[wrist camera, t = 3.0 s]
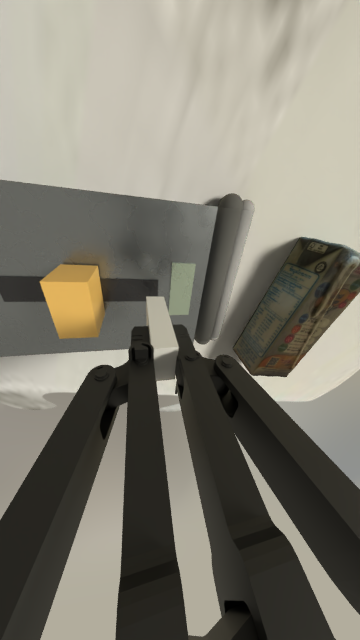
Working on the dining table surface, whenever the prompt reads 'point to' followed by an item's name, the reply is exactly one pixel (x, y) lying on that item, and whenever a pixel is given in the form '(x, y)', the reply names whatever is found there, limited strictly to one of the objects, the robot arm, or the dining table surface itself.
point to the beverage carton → (299, 306)
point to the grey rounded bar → (223, 264)
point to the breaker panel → (97, 261)
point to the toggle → (75, 300)
